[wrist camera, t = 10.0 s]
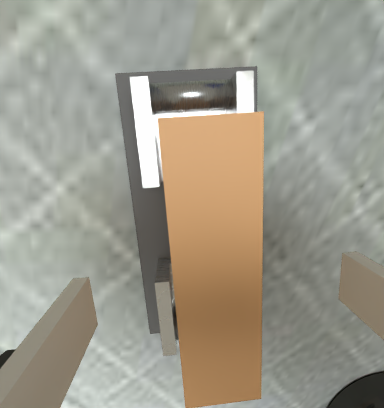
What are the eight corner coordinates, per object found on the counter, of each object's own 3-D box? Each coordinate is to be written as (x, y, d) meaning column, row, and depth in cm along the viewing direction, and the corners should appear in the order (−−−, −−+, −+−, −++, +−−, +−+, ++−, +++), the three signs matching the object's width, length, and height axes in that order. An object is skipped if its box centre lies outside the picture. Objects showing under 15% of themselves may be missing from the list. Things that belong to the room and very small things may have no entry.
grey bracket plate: (239, 308, 26) (254, 345, 21) (165, 316, 26) (163, 356, 21) (235, 88, 21) (253, 70, 16) (140, 93, 20) (129, 76, 15)
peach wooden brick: (225, 294, 23) (261, 398, 14) (180, 299, 23) (185, 408, 13) (219, 128, 19) (264, 111, 10) (165, 132, 19) (157, 117, 10)
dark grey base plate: (254, 318, 27) (256, 321, 26) (150, 329, 26) (150, 333, 26) (254, 68, 20) (257, 66, 20) (116, 75, 20) (115, 73, 19)
